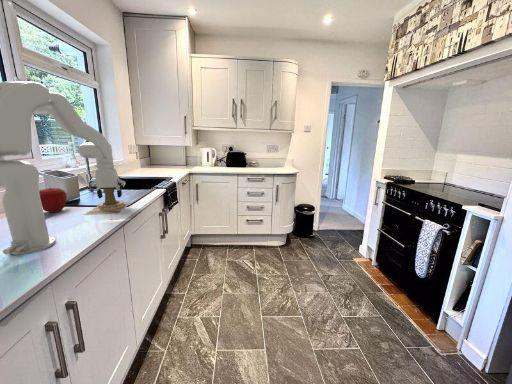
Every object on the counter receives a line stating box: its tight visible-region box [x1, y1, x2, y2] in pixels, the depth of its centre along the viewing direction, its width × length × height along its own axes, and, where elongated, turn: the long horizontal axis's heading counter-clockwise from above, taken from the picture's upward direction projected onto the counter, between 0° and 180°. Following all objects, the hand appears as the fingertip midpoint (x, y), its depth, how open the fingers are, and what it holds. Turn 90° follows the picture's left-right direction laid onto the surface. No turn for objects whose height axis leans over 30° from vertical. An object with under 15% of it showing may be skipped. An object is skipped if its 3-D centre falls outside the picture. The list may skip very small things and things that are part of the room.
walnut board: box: [83, 201, 132, 216], centre depth 128 cm, size 20×16×1 cm
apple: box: [39, 187, 68, 214], centre depth 123 cm, size 12×12×13 cm
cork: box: [102, 187, 117, 205], centre depth 129 cm, size 6×6×11 cm
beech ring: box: [97, 199, 125, 210], centre depth 131 cm, size 12×12×2 cm
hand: (110, 197), depth 130 cm, fingers open, 9 cm apart
